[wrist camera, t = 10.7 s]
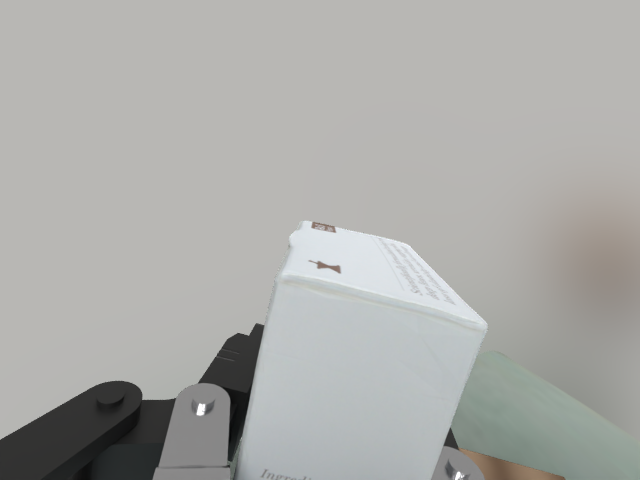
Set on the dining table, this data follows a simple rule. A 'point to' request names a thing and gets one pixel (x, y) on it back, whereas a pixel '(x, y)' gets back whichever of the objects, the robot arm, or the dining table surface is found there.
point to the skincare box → (356, 363)
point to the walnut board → (506, 469)
